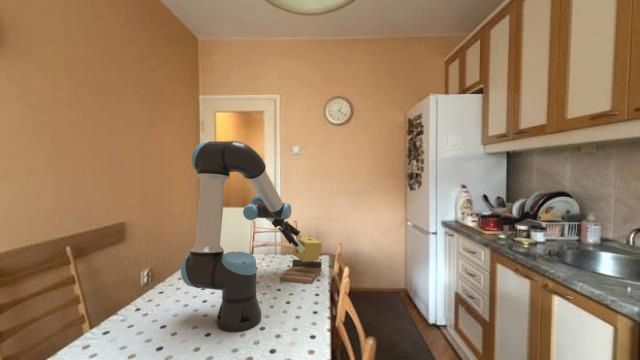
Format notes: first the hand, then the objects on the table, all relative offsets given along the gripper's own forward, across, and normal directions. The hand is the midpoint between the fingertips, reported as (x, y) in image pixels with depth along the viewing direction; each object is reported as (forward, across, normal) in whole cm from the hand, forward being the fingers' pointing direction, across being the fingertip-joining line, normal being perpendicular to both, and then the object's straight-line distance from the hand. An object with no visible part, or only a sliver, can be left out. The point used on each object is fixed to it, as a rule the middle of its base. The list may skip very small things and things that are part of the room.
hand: (304, 247), depth 149 cm
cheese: (+4, -1, -4) cm, 6 cm away
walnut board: (+9, +1, -11) cm, 15 cm away
